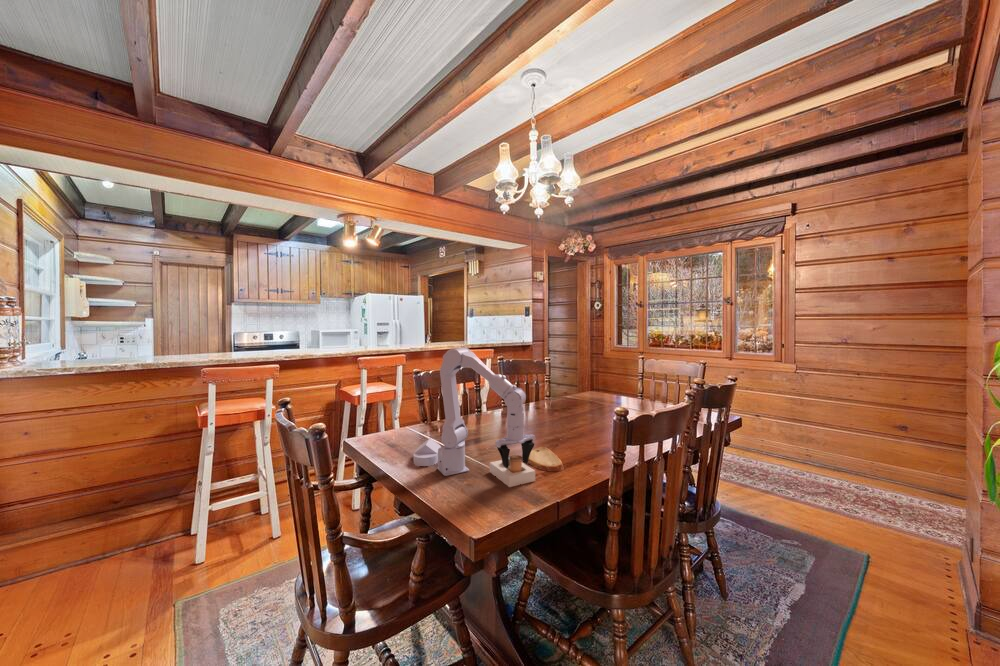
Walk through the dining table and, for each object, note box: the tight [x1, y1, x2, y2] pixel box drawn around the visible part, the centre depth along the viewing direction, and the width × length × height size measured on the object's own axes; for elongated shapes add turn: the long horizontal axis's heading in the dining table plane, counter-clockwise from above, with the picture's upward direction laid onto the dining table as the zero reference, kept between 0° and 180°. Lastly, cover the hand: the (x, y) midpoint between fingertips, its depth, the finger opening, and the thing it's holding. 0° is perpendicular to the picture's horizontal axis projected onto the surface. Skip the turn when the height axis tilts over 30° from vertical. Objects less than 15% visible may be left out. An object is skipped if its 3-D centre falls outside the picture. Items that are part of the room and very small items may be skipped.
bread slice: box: [527, 446, 565, 472], centre depth 148 cm, size 18×18×4 cm
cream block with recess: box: [489, 455, 536, 488], centre depth 133 cm, size 10×14×6 cm
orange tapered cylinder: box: [509, 454, 523, 473], centre depth 131 cm, size 4×4×7 cm
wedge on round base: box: [413, 437, 442, 467], centre depth 148 cm, size 9×7×13 cm
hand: (515, 464), depth 131 cm, fingers open, 7 cm apart
